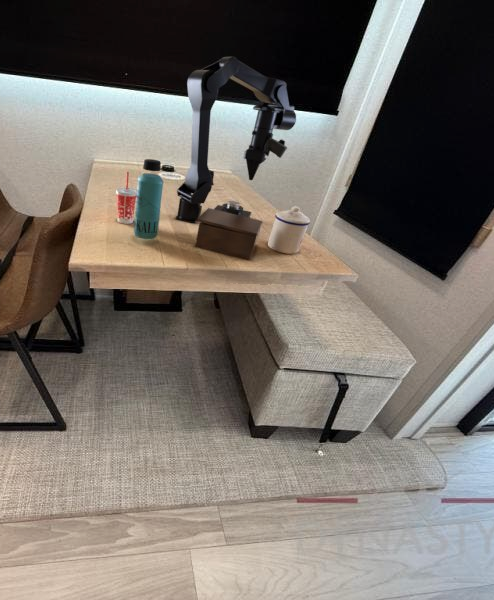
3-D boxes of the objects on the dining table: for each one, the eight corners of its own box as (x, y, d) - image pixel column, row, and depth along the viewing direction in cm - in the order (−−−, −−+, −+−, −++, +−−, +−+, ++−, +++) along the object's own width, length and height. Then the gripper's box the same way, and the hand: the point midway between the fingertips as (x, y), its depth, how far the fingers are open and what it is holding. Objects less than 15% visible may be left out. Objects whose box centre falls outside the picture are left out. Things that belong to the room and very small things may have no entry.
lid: (196, 221, 84) (197, 218, 83) (207, 210, 93) (208, 207, 93) (256, 236, 80) (257, 233, 79) (261, 223, 89) (262, 221, 89)
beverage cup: (136, 219, 100) (140, 171, 93) (133, 225, 95) (137, 175, 88) (117, 216, 100) (119, 168, 93) (112, 222, 95) (114, 172, 88)
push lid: (225, 207, 109) (226, 202, 108) (228, 205, 112) (229, 200, 111) (237, 210, 108) (238, 205, 107) (239, 207, 111) (240, 202, 110)
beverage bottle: (145, 233, 91) (152, 156, 80) (162, 241, 87) (172, 162, 76) (127, 238, 87) (132, 157, 76) (144, 247, 83) (152, 163, 72)
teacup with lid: (304, 255, 90) (320, 214, 83) (273, 253, 89) (286, 211, 82) (287, 239, 100) (300, 200, 94) (259, 236, 99) (270, 198, 92)
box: (195, 246, 87) (199, 223, 84) (206, 233, 96) (210, 212, 93) (249, 260, 83) (256, 236, 80) (255, 245, 92) (261, 223, 89)
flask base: (209, 218, 109) (212, 206, 107) (216, 210, 117) (218, 199, 115) (245, 226, 106) (248, 213, 104) (249, 218, 114) (252, 206, 112)
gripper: (288, 133, 92) (272, 189, 101) (291, 130, 107) (277, 179, 116) (249, 127, 95) (237, 183, 103) (257, 125, 110) (246, 174, 119)
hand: (250, 180), depth 110 cm, fingers closed
